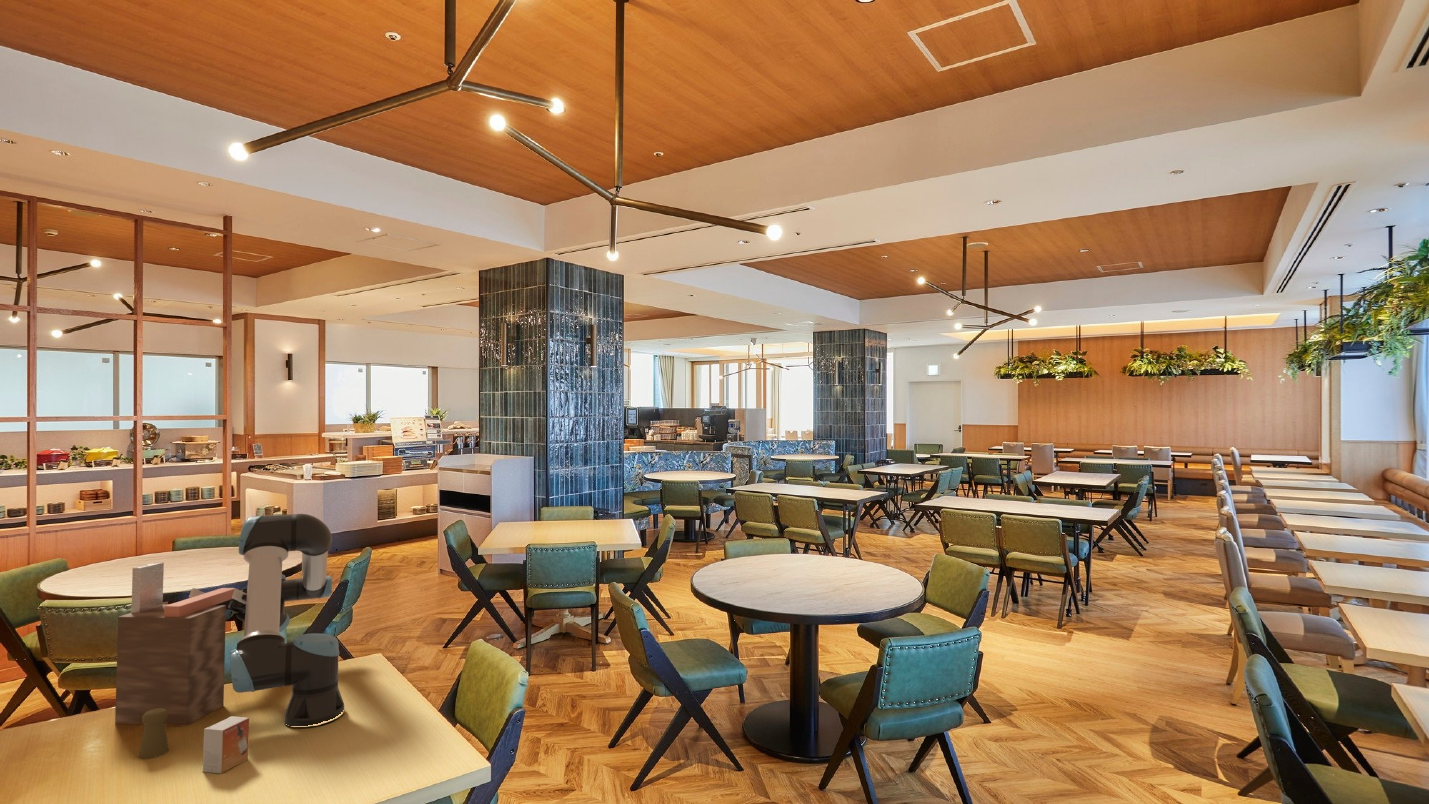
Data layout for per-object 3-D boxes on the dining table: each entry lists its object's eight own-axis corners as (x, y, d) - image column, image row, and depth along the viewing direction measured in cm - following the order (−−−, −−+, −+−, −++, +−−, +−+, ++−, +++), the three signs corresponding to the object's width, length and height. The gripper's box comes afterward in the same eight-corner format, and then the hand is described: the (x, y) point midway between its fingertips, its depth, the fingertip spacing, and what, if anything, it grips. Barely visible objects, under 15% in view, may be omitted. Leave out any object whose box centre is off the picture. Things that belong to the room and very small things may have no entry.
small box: (221, 774, 171) (222, 730, 171) (201, 772, 172) (202, 728, 172) (249, 759, 179) (250, 717, 179) (230, 757, 180) (231, 715, 180)
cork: (174, 750, 183) (175, 707, 184) (149, 760, 178) (150, 716, 178) (158, 746, 185) (159, 704, 186) (133, 756, 180) (134, 713, 180)
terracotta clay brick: (221, 597, 222) (222, 587, 222) (235, 597, 222) (235, 588, 222) (164, 616, 200) (164, 606, 200) (179, 617, 200) (179, 606, 200)
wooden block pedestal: (156, 703, 213) (159, 604, 214) (223, 705, 212) (226, 605, 213) (115, 723, 199) (118, 616, 200) (186, 725, 198) (189, 618, 199)
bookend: (154, 605, 212) (155, 562, 212) (162, 606, 212) (163, 562, 212) (131, 613, 204) (132, 567, 204) (139, 613, 204) (140, 568, 204)
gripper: (286, 624, 231) (247, 606, 213) (213, 622, 232) (168, 604, 214) (294, 601, 235) (256, 581, 217) (222, 600, 236) (179, 580, 218)
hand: (212, 593), depth 215 cm, fingers open, 13 cm apart
